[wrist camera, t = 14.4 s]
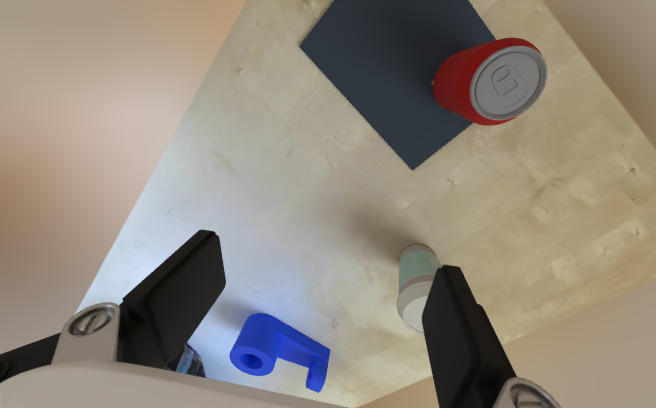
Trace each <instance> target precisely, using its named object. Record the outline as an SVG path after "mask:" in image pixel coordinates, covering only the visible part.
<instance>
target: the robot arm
mask: <svg viewBox="0 0 656 408" xmlns="http://www.w3.org/2000/svg"><path fill="white" fill-rule="evenodd" d="M225 284H226V279H225V272H224V266H223V259H222V253H221V246H220V239H219V236H218V235H216V233H215V232H214V231H208V230H199V231H198V232H197V233H196V234H195V235H193V236H192V237H191V238H190V239H189V240H188V241H187V242H186V243H184V244H183V245H182V246H181V247H180V248H179V249H178V250H177V251H175V252H174V253H173V254H172V255H171V256H170V257H169V258H168V259H166V260H165V261H164V262H163V263H162V264H161V265H160V266H159V267H157V268H156V269H155V270H154V271H153V272H152V273H151V274H150V275H148V276H147V277H146V278H145V279H144V280H143V281H142V282H141V283H139V284H138V285H137V286H136V287H135V288H134V289H133V290H132V291H131V292H129V293H128V294H127V295H126V296H125V297H124V298H123V302H122V303H121V304H120V305H119V306H118V305H117V304H115V303H100V304H95V305H93V306H90V307H87V308H85V309H84V310H82V311H80V312H78V313H77V314H75V315H74V316H73V317H71V318H70V319H69V320H68V322H67V323H66V324H65V325H64V327H63V329H62V332H61V333H58V334H55V335H53V336H50V337H47V338H44V339H42V340H39V341H36V342H33V343H31V344H28V345H25V346H23V347H20V348H17V349H14V350H12V351H9V352H6V353H3V354H0V408H347V407H343V406H338V405H333V404H329V403H324V402H319V401H314V400H310V399H305V398H300V397H295V396H291V395H286V394H281V393H276V392H271V391H267V390H262V389H257V388H252V387H247V386H243V385H238V384H233V383H228V382H223V381H218V380H213V379H208V378H203V377H198V376H193V375H188V374H183V373H179V372H174V371H169V370H164V369H165V367H166V366H167V365H168V363H169V362H170V361H173V360H174V359H175V358H176V357H177V356H178V354H179V353H180V351H181V350H182V349H183V347H184V346H185V344H186V343H187V341H188V340H189V339H190V337H191V336H192V334H193V333H194V331H195V330H196V328H197V327H198V326H199V324H200V323H201V321H202V320H203V318H204V317H205V315H206V314H207V313H208V311H209V310H210V308H211V307H212V305H213V304H214V303H215V301H216V300H217V298H218V297H219V295H220V294H221V292H222V291H223V290H224V288H225ZM422 326H423V331H424V336H425V340H426V345H427V350H428V355H429V360H430V364H431V369H432V374H433V379H434V384H435V388H436V393H437V398H438V403H439V407H440V408H561V407H560V405H559V404H558V402H557V401H556V400H555V399H554V398H553V397H552V396H551V395H550V394H549V393H548V392H547V391H546V390H544V389H543V388H542V387H540V386H539V385H537V384H535V383H534V382H532V381H530V380H527V379H524V378H518V377H517V376H516V374H515V372H514V370H513V368H512V366H511V364H510V362H509V360H508V358H507V356H506V354H505V352H504V349H503V347H502V345H501V343H500V341H499V339H498V337H497V335H496V333H495V331H494V329H493V327H492V325H491V323H490V321H489V319H488V317H487V315H486V312H485V310H484V309H483V307H482V306H481V305H480V304H477V303H476V301H475V298H474V296H473V294H472V292H471V290H470V288H469V286H468V283H467V281H466V279H465V277H464V275H463V273H462V271H461V269H460V267H457V266H450V265H443V266H442V268H437V270H436V273H435V276H434V279H433V282H432V285H431V288H430V292H429V295H428V298H427V301H426V304H425V307H424V310H423V313H422ZM149 366H150V367H149ZM152 367H153V368H152Z"/></svg>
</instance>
